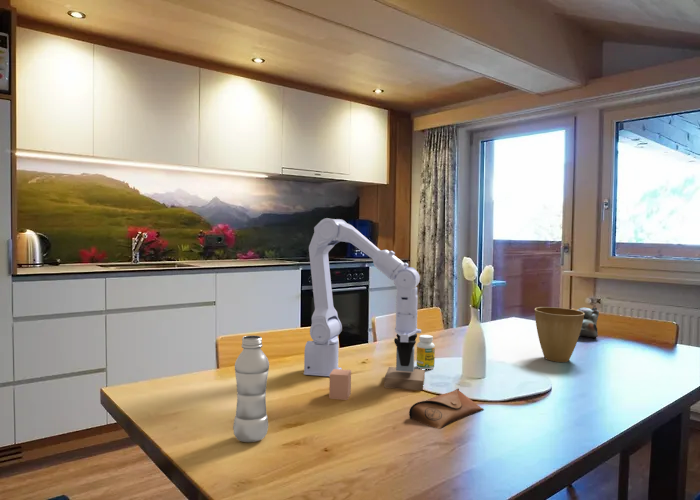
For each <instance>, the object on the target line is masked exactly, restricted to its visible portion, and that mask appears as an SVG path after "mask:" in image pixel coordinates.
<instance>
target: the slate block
mask: <svg viewBox="0 0 700 500" xmlns="http://www.w3.org/2000/svg"><path fill="white" fill-rule="evenodd" d="M395 357H396V360H395V361H396V362H395V363H396V367H395V368H396V371H410V372H413V370H414V369H415V346H414V347H413V349H412V352H411V358H410V363H409V366H401V364H400V359H399V353H398V349H397V348H396V356H395Z"/></svg>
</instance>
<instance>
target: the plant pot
mask: <svg viewBox="0 0 700 500" xmlns="http://www.w3.org/2000/svg"><path fill="white" fill-rule="evenodd" d="M577 310H578V309H571V308H563V307H556V306H555V307H550V306H539V307H535V308H534V317H535V319H534V321H535V326H536V331H537V336H538V337H537V338H538V341H539V344H540V349H541V351H542V355H543V357H544V359H545V360H548V361H550V362H554V363H555V362H556V363H557V362H558V363H567V362H569V361H570V359H571V357H572V355H573V353H574V350H575V348H576V346H577V344H578V340H579V337H580V336H579V335H580V331H581V327H582V323H583V319H584V313H583V312H581V311H577Z"/></svg>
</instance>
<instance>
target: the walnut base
mask: <svg viewBox="0 0 700 500" xmlns="http://www.w3.org/2000/svg"><path fill="white" fill-rule="evenodd" d="M425 373H426V370H422V369H419V368H414V370H413V372H410V371H396V367H392V366H388V369H387V370H386V373H385V376H384V377H383V379H384V380H383V382H384V384H383V387H384V388H388V389H399V390H400V389H401V390H412V391H424V386H423V385H424V384H425V377H426V376H425Z"/></svg>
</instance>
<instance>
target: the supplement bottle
mask: <svg viewBox="0 0 700 500" xmlns="http://www.w3.org/2000/svg"><path fill="white" fill-rule="evenodd" d="M433 337H434V336H433V335H430V334H421V335H419V338H418V340H419V342H417V344H416V367H418V368H417V369H419V368H420V369H427V370H426V371H429V370H428V369H431V370H434V368H435V358H436V356H435V353H436V352H435V351H436V350H435V349H436V346H435V343H434V342H433V340H434V339H433Z"/></svg>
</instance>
